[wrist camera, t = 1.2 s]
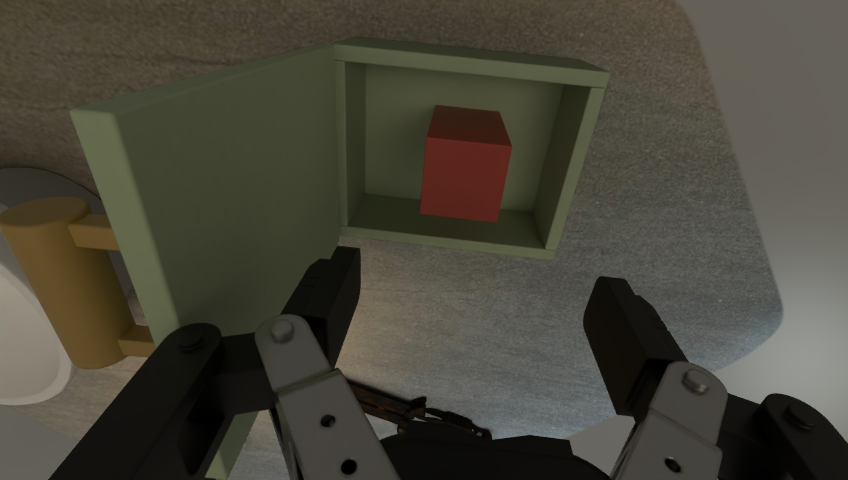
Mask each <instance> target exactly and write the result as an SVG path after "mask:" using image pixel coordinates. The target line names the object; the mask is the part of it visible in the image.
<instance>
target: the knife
mask: <svg viewBox="0 0 848 480" xmlns="http://www.w3.org/2000/svg"><path fill="white" fill-rule="evenodd" d="M349 386H350V388H351V390H352V391H353V393H354V395H355V397H356V398H357V401H358V402H359V404H360V406H361V408H362V410H363V412H364V413H367V414H369V415H372V416H375V417H378V418H381V419H384V420H387V421H389V422H392V423H395V424H398V427H397V433H398V434H399V433H406V432H408V425H409V420H410V419H414V417H416V418H418V419H421V420H424V421H427V422H431V423H439V424H447V425H450V426H453V427H456V428H458V429H461V430H464V431H466V432H469V433H472V434H474V435H476V434H477V433H478V432H481V433H483V434H482V438H485V439H489V440H492V435H491V433H489V431H486V430H483V429H481V428H478V427H477V426H475V425H474V424H473V423H472V421H471V420H469V419H467V418H463V416H459V415H455V414H454V413H450V412H449V411H448V412H442V411H439V410H436V409H425V408H426V405H425V402H426V398H425V397H422V398H418V399H414V400H413V401H412V402H411V404H410V406H408V405H405V404H402V403H400V402H397V401H394V400H391V399H389V398H386V397H383V396H380V395H377V394H375V393H372V392H369V391H366V390H363V389H361V388H358V387H355V386H352V385H350V384H349ZM358 399H360V400H358ZM361 400H363V401H365V402H363V401H361ZM366 402H368V403H366ZM369 403H371V404H369ZM372 404H374V405H372ZM375 405H377V406H375ZM378 406H379V407H378ZM386 409H388V410H386ZM389 410H391V411H389ZM392 411H394V412H392ZM395 412H396V413H395ZM425 412H426V413H428V414H431V415H434V416H437V417H440V418H442V420H440V419H437V418H431V417H425ZM397 413H399V414H397ZM400 414H401V415H400ZM472 429H473V430H475V431H474V432H472Z"/></svg>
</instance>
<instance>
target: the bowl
mask: <svg viewBox="0 0 848 480" xmlns="http://www.w3.org/2000/svg"><path fill="white" fill-rule="evenodd" d="M49 197H77V198H81V199H83V200H85V201H86V202H87V203H88V204H89V205H90V208H91V210H92V213H93V214H99V215H107V213H106V211H105V208H104V205H103V202H102V201H101V200H100V199H99V198H98V197H96V196H95V195H94V194H92V193H91V192H89V191H88V190H86V189H85V188H83V187H82V186H80V185H79V184H77V183H75V182H73V181H71V180H69V179H67V178H65V177H63V176H60V175H57V174H54V173H51V172H49V171H45V170H40V169H35V168H5V169H0V214H1V213H2V212H3V211H5V210H7V209H9V208H11V207H13V206H16V205H18V204H21V203H25V202H28V201H32V200H36V199H42V198H49ZM107 252H108V254H109V257H110V259H111V262H112V264H113V267H114V270H115V272H116V275H117V277H118V280H119V282H120V285H121V288H122V290H123V293H124V295H125V297H126V296H127V294H128V293H129V291H130V290H131V288H132V287H133V284H132V281H131V278H130V276H129V273H128V270H127V268H126V265H125V262H124V259H123V257H122V254H121V251H115V250H107ZM78 369H79V367H77V366H75V365H73V363H72V362H71V360H70V358H69V357H68V355H67V353H66V351H65V349H64V347H63V345H62V343H61V342H60V340H59V338H58V336H57V334H56V332H55V330H54V329H53V327H52V325H51V323H50V321H49V319H48V317H47V316H46V314H45V312H44V310H43V308H42V306H41V304H40V303H39V301H38V299H37V297H36V295H35V293H34V291H33V290H32V288H31V286H30V284H29V282H28V280H27V278H26V276H25V275H24V273H23V271H22V269H21V267H20V265H19V263H18V262H17V260H16V258H15V256H14V254H13V252H12V250H11V249H10V247H9V245H8V243H7V241H6V239H5V237H4V236H3V234H2V232H1V230H0V404H5V405H25V404H35V403H38V402H41V401H44V400H48V399H50V398H52V397H54V396H56V395H57V394H59V393H60V392H62V391H63V390H64V389H65V388H66V387H67V385H68V384H69V382H70V381H71V379H72V378H73V376H74V375H75V373H76V372H77V370H78Z"/></svg>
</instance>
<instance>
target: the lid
mask: <svg viewBox="0 0 848 480" xmlns="http://www.w3.org/2000/svg"><path fill="white" fill-rule="evenodd" d="M70 116H71V119H72V121H73V124H74V127H75V129H76V132H77V135H78V137H79V140H80V143H81V146H82V148H83V151H84V154H85V156H86V159H87V162H88V165H89V167H90V170H91V173H92V175H93V178H94V181H95V184H96V186H97V189H98V192H99V194H100V197H101V200H102V202H103V205H104V208H105V211H106V213H107V215H99V214H93V213H92V210H91V208H90V205H89V204H88V203H87V202H86V201H85V200H83V199H81V198H77V197H49V198H42V199H36V200H32V201H28V202H25V203H21V204H18V205H16V206H13V207H11V208H9V209H7V210H5V211H3V212H2V213H1V214H0V230H1V232H2V234H3V236H4V237H5V239H6V241H7V243H8V245H9V247H10V249H11V250H12V252H13V254H14V256H15V258H16V260H17V262H18V263H19V265H20V267H21V269H22V271H23V273H24V275H25V276H26V278H27V280H28V282H29V284H30V286H31V288H32V290H33V291H34V293H35V295H36V297H37V299H38V301H39V303H40V304H41V306H42V308H43V310H44V312H45V314H46V316H47V317H48V319H49V321H50V323H51V325H52V327H53V329H54V330H55V332H56V334H57V336H58V338H59V340H60V342H61V343H62V345H63V347H64V349H65V351H66V353H67V355H68V357H69V358H70V360H71V362H72V363H73V365H75V366H77V367H79V368H81V369H99V368H104V367H107V366H110V365H113V364H115V363H117V362H119V361H121V360H123V359H125V358H126V357H127V356H138V357H148V358H149V357H150V355H151V354H152V353H153V352H154V351H155V349H156V348H157V347H158V346H159V344H160V343H161V342H162V341H163V340H164V339H165V337H166V336H168V335H169V334H170V333H171V332H173V331H175V330H176V329H178V328H180V327H183V326H186V325H189V324H194V323H210V324H213V325H215V326H217V327H218V328H219V329H220V331H221V334H222V337H223V336H231V335H240V334H247V333H252V332H255V331H256V329H257V328H258V327H259V325H260V324H261V323H263V322H264V321H265V320H267V319H269V318H271V317H274V316H277V315H280V313H281V312H282V310H283V308H284V307H285V305H286V303H287V302H288V300H289V298H290V297H291V295H292V293H293V292H294V290H295V289H296V287H297V286H298V284H299V282H300V280H301V279H302V278H303V275H304V274H305V272H306V270H307V269H308V267H309V266H310V265H311V264H313V263H314V262H316V261H317V260H319V259H320V258H322V259H330V258H331V256H332V254H333V252H334V250H335V248H336V246H337V244H338V241H339V239H340V234H339V200H338V166H337V132H336V98H335V64H334V46H333V45H330V44H316V45H313V46H309V47H305V48H301V49H297V50H294V51H290V52H286V53H282V54H278V55H275V56H271V57H267V58H263V59H259V60H256V61H252V62H248V63H244V64H240V65H237V66H233V67H229V68H225V69H221V70H218V71H214V72H210V73H206V74H202V75H199V76H195V77H191V78H187V79H183V80H180V81H176V82H172V83H168V84H164V85H161V86H157V87H153V88H149V89H145V90H142V91H138V92H134V93H130V94H127V95H123V96H119V97H115V98H111V99H108V100H104V101H100V102H96V103H92V104H89V105H85V106H81V107H77V108H74V109H72V110H70ZM107 250H115V251H121V254H122V257H123V259H124V262H125V265H126V268H127V270H128V273H129V276H130V278H131V281H132V284H133V286H134V289H135V292H136V295H137V297H138V300H139V303H140V305H141V308H142V311H143V314H144V316H145V319H146V322H147V324H148V326H141V325H136V323H135V321H134V318H133V316H132V313H131V311H130V308H129V305H128V303H127V300H126V298H125V295H124V293H123V290H122V288H121V285H120V282H119V280H118V277H117V275H116V272H115V270H114V267H113V264H112V262H111V259H110V257H109V254H108V252H107ZM258 412H259V411H256V412H250V413H244V414H238V415H235V417H234V419H233V421H232V423H231V425H230V427H229V429H228V431H227V433H226V435H225V437H224V439H223V441H222V443H221V445H220V447H219V449H218V451H217V453H216V455H215V457H214V459H213V461H212V463H211V465H210V467H209V470H208V472H207V474H206V476H205V477H206V478H215V479H227V478H228V476H229V474H230V472H231V470H232V468H233V466H234V464H235V461H236V459H237V457H238V455H239V453H240V451H241V449H242V447H243V444H244V442H245V440H246V438H247V436H248V434H249V432H250V429H251V427H252V425H253V423H254V421H255V419H256V417H257V414H258Z"/></svg>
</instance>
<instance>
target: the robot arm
mask: <svg viewBox="0 0 848 480" xmlns="http://www.w3.org/2000/svg"><path fill="white" fill-rule="evenodd" d="M360 287H361V254H360V249H359V248H354V247H345V246H337V247H336V249H335V251H334V253H333V254H332V256H331V258H330V259H322V258H320V259H319V260H317V261H316V262H314V263H313V264H311V265H310V266H309V267H308V269H307V270H306V272H305V274H304V275H303V278H302V279H301V280H300V282H299V284H298V286H297V287H296V289H295V290H294V292H293V293H292V295H291V297H290V298H289V300H288V302H287V303H286V305H285V307H284V308H283V310H282V312H281V313H280V315H277V316H274V317H271V318H269V319H267V320H265V321H264V322H263V323H261V324H260V325H259V327H258V328H257V329H256V331H255V332H252V333H247V334H240V335H231V336H223V337H222V334H221V331H220V329H219V328H218V327H217V326H215V325H213V324H210V323H194V324H189V325H186V326H183V327H180V328H178V329H176V330H175V331H173V332H171V333H170V334H169V335H168V336H166V337H165V339H164V340H163V341H162V342H161V343H160V344H159V346H158V347H157V348H156V349H155V351H154V352H153V353H152V354H151V355H150V357H149V358H148V359H147V360H146V361H145V363H144V364H143V365H142V366H141V368H140V369H139V370H138V371H137V372H136V374H135V375H134V376H133V377H132V378H131V380H130V381H129V382H128V383H127V385H126V386H125V387H124V388H123V389H122V391H121V392H120V393H119V394H118V395H117V397H116V398H115V399H114V400H113V402H112V403H111V404H110V405H109V406H108V408H107V409H106V410H105V411H104V412H103V414H102V415H101V416H100V417H99V419H98V420H97V421H96V422H95V423H94V425H93V426H92V427H91V428H90V429H89V431H88V432H87V433H86V434H85V436H84V437H83V438H82V439H81V440H80V442H79V443H78V444H77V445H76V447H75V448H74V449H73V450H72V451H71V453H70V454H69V455H68V456H67V457H66V459H65V460H64V461H63V462H62V464H61V465H60V466H59V467H58V468H57V470H56V471H55V472H54V473H53V474H52V476H51V477H50V478H49V479H48V480H204V478H205V476H206V474H207V472H208V470H209V467H210V465H211V463H212V461H213V459H214V457H215V455H216V453H217V451H218V449H219V447H220V445H221V443H222V441H223V439H224V437H225V435H226V433H227V431H228V429H229V427H230V425H231V423H232V421H233V419H234V417H235V415H238V414H244V413H250V412H256V411H261V410H267V409H268V410H269V413H270V416H271V419H272V422H273V425H274V428H275V431H276V434H277V438H278V441H279V444H280V447H281V450H282V453H283V456H284V459H285V462H286V465H287V469H288V473H289V477H290V480H717V478H718V480H848V443H847V442H846V441H845V440H844V438H843V437H842V436H841V435H840V434H839V432H838V431H837V430H836V429H835V428H834V426H833V425H832V424H831V423H830V422H829V421H828V420H827V419H826V418H825V417H824V416H823V415H822V414H821V413H820V412H818V411H817V410H816V409H814V408H813V407H811V406H810V405H808V404H806V403H805V402H802V401H801V400H799V399H796V398H794V397H791V396H788V395H784V394H777V393H776V394H770V395H768V396H767V397H766V398H765V399H764V400H763V402H762V403H761V404H758V403H754V402H752V401H749V400H746V399H743V398H740V397H737V396H734V395H731V394H729V393H727V390H726V389H725V387H724V385H723V384H722V383H721V381H720V380H719V379H718V378H716V376H714V375H713V374H712V373H710V372H709V371H707V370H706V369H704V368H702V367H700V366H698V365H696V364H693V363H689V361H688V360H687V358H686V357H685V355H684V354H683V352H682V350H681V349H680V347H679V346H678V344H677V343H676V341H675V340H674V338H673V337H672V335H671V334H670V332H669V331H667V327H666V326H665V324H664V323H663V321H661V318H660V317H659V315H658V313H657V312H656V310H655V309H654V307H653V306H652V305H650V304H649V303H648V302H647V301H646V300H645V299H643V298H642V297H641V296H638V295H635V294H634V292H633V290H632V289H631V287H630V286H629V284H628V282H627V281H626V280H625V279H621V278H613V277H604V276H600V277H599V278H598V279H597V280H596V283H595V285H594V288H593V291H592V293H591V296H590V299H589V301H588V304H587V307H586V309H585V312H584V317H583V326H584V331H585V333H586V336H587V338H588V341H589V344H590V346H591V349H592V351H593V354H594V357H595V359H596V362H597V364H598V367H599V370H600V372H601V375H602V377H603V380H604V383H605V385H606V388H607V390H608V393H609V396H610V398H611V401H612V403H613V406H614V409H615V411H616V414H617V415H625V416H632V417H634V420H635V422H636V423H635V425H634V426H633V428H632V430H631V432H630V434H629V436H628V438H627V440H626V442H625V444H624V447H623V448H622V451H621V453H620V455H619V457H618V459H617V461H616V463H615V465H614V467H613V469H612V471H611V474H610V476H608V475H607V474H605V473H604V472H602V471H601V470H600V469H599V468H597V467H596V466H594V465H593V464H591V463H589V462H588V461H586V460H584V459H582V458H580V457H578V456H575V455H573V453H572V449H571V445H570V441H569V440H564V439H556V438H548V437H541V436H533V435H526V436H518V437H511V438H503V439H495V440H489V439H485V438H482V437H480V436H477V435H474V434H472V433H469V432H466V431H464V430H461V429H458V428H456V427H453V426H450V425H447V424H439V423H431V422H423V421H415V420H409V425H408V432H406V433H399V434H396V435H392V436H389V437H386V438H384V439H381V440H379V439H378V437H377V435H376V434H375V432H374V430H373V428H372V426H371V424H370V423H369V421H368V419H367V417H366V415H365V413H364V412H363V410H362V408H361V406H360V404H359V402H358V401H357V399H356V397H355V395H354V393H353V391H352V390H351V388H350V386H349V384H348V382H347V381H346V379H345V377H344V375H343V373H342V372H341V370H340V369H338V368H335V369H334V367H335V365H336V362H337V359H338V356H339V353H340V351H341V348H342V345H343V342H344V340H345V337H346V334H347V331H348V328H349V326H350V323H351V320H352V317H353V315H354V312H355V309H356V306H357V303H358V300H359V295H360Z"/></svg>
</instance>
